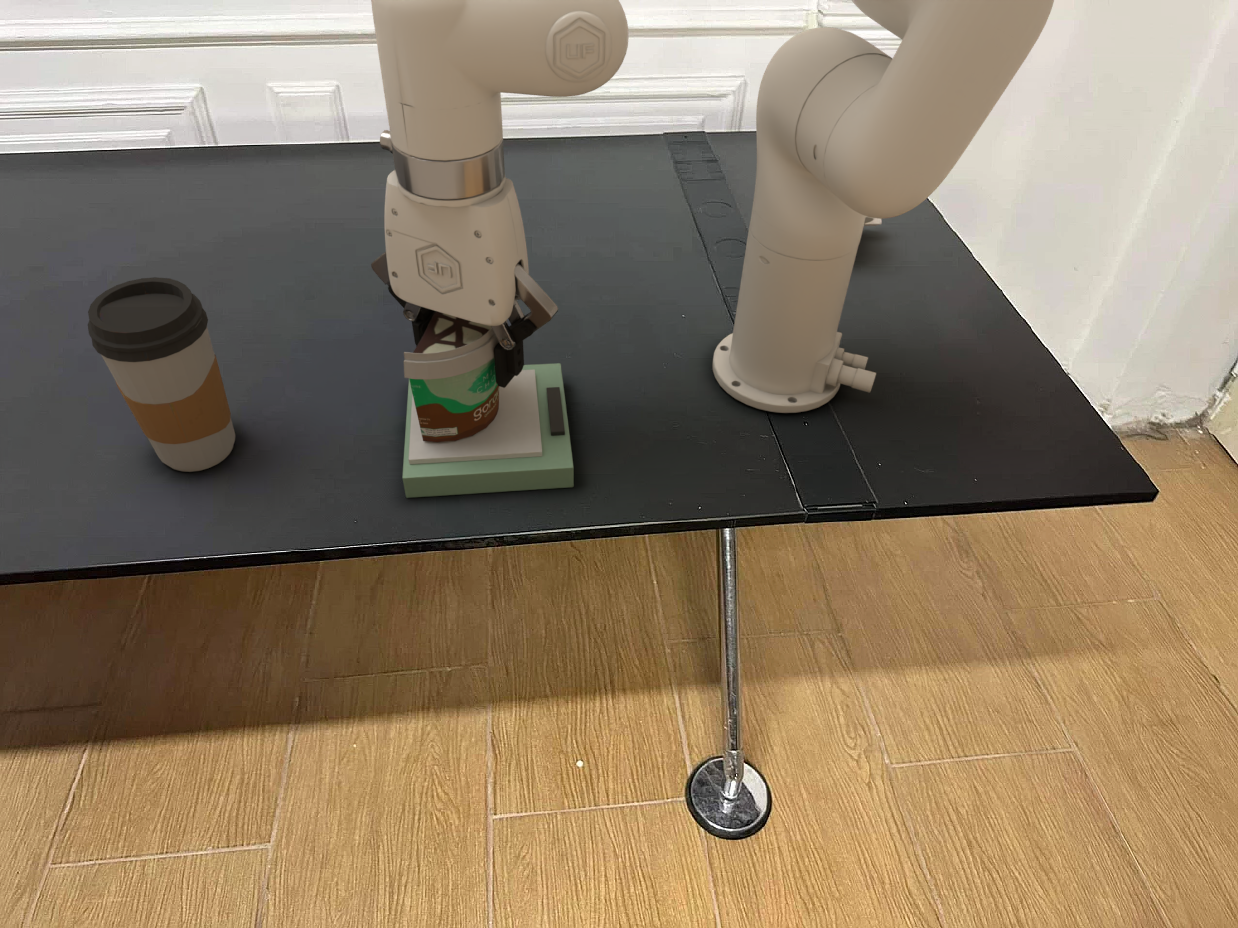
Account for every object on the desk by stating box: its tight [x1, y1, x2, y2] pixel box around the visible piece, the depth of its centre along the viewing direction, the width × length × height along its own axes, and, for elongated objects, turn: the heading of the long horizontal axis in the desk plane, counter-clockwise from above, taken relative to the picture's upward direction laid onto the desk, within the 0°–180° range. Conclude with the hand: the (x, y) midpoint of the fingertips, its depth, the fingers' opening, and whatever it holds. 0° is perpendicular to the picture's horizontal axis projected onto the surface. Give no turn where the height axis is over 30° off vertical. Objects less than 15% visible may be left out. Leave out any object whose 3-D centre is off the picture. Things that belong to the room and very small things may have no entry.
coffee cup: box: [87, 276, 236, 473], centre depth 73 cm, size 8×8×15 cm
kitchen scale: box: [401, 362, 575, 499], centre depth 80 cm, size 14×14×3 cm
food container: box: [403, 311, 509, 443], centre depth 75 cm, size 12×6×10 cm, turn 168°
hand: (470, 364), depth 75 cm, fingers closed on food container, 6 cm apart
